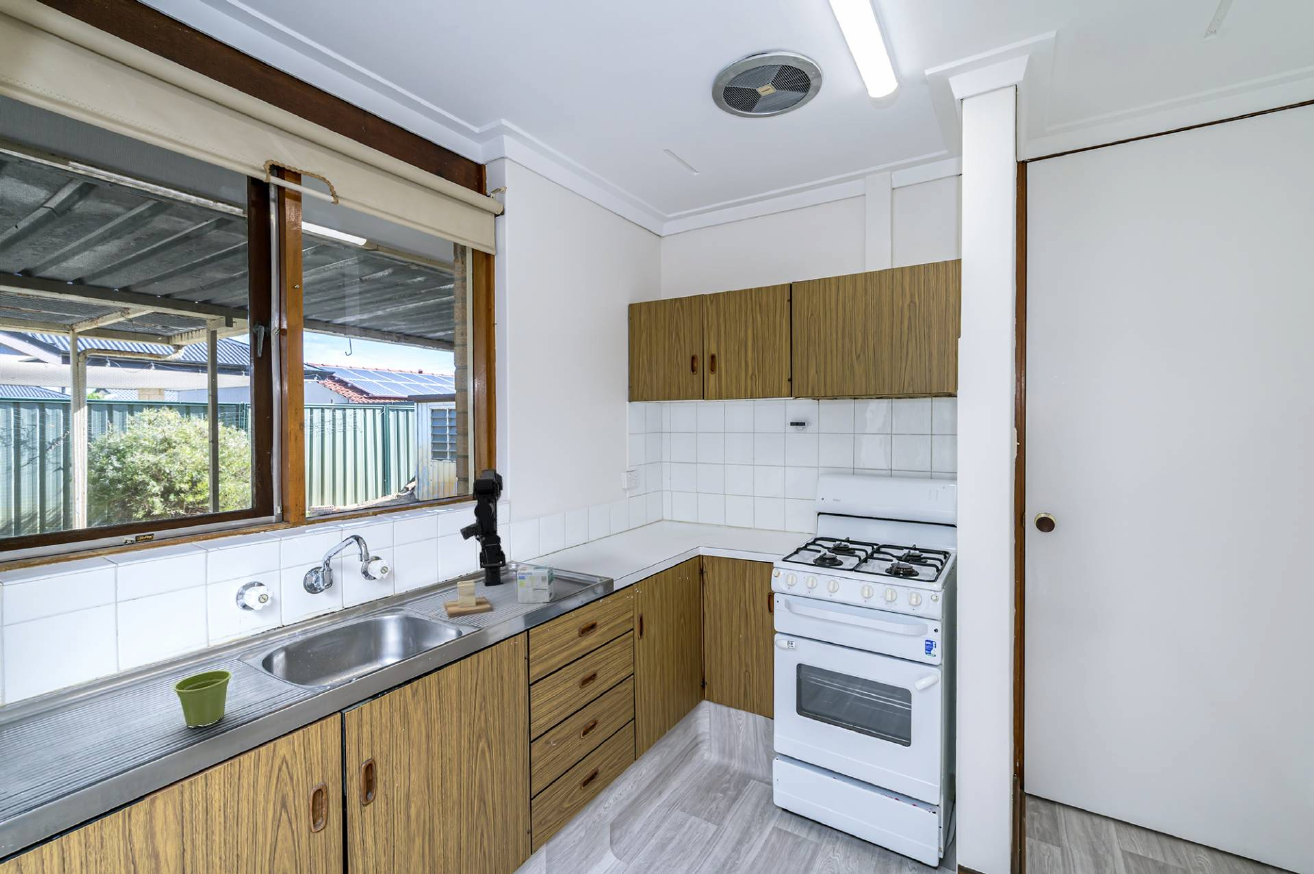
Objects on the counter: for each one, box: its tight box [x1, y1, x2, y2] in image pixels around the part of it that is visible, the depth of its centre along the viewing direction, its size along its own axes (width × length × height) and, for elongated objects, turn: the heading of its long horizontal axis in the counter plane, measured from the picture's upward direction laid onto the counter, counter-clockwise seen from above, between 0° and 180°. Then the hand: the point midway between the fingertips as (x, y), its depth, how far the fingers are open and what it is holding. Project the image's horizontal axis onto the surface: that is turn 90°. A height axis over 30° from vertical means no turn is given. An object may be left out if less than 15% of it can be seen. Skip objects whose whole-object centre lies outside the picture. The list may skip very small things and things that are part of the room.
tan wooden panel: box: [443, 596, 493, 619], centre depth 189 cm, size 13×13×2 cm
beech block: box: [457, 579, 476, 608], centre depth 189 cm, size 5×5×7 cm
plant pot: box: [173, 669, 232, 726], centre depth 120 cm, size 9×9×9 cm
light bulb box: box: [516, 565, 555, 604], centre depth 196 cm, size 11×7×11 cm, turn 87°
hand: (487, 560), depth 200 cm, fingers open, 9 cm apart
